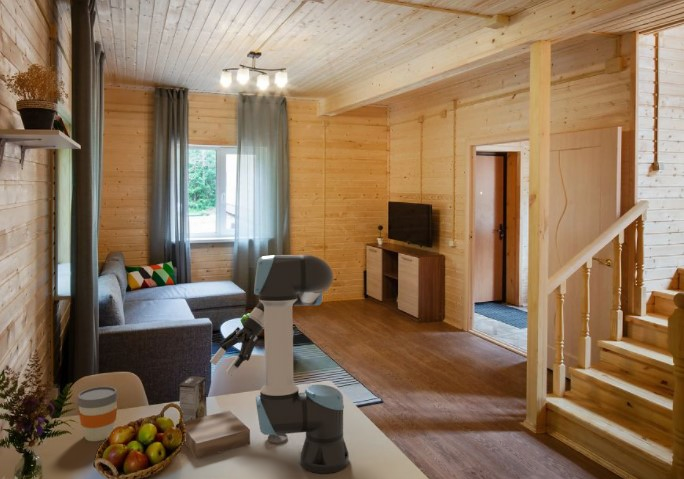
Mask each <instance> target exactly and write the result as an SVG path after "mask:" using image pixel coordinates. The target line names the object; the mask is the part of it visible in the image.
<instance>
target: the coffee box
mask: <svg viewBox="0 0 684 479" xmlns="http://www.w3.org/2000/svg"><path fill="white" fill-rule="evenodd" d="M206 379H207V378H206V377H202V376H193V375H192V376H191V375H190V376H188V377H187V378H186V379H185V380H183V381H182V382H181V383H180V384H179V385H178V388H179V389H178V391H179V408H180V407H181V409H182V411H183V421H188V420H192V419H196V418H200V417H205V416H208V414H207V413H208V412H207V411H208V410H207V408H208V407H207V380H206Z"/></svg>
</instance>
